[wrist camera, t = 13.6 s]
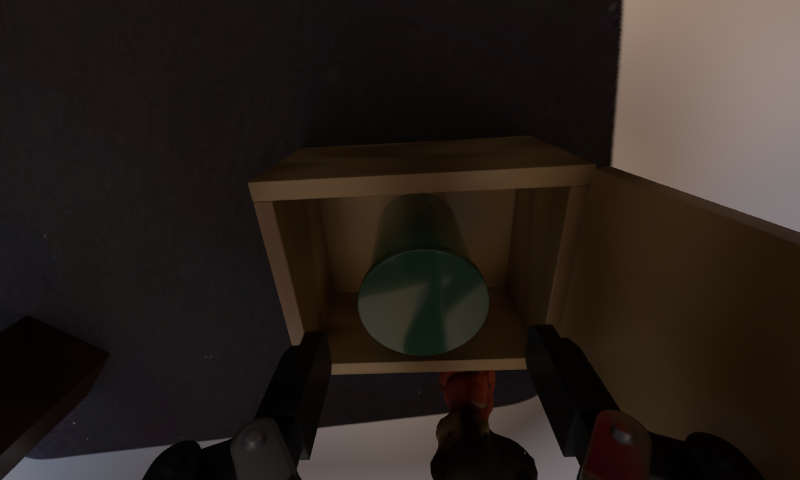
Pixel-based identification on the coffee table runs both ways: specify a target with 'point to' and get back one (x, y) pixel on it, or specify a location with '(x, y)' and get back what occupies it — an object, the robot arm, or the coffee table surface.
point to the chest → (478, 220)
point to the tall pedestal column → (40, 384)
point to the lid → (691, 316)
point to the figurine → (475, 434)
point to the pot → (421, 280)
